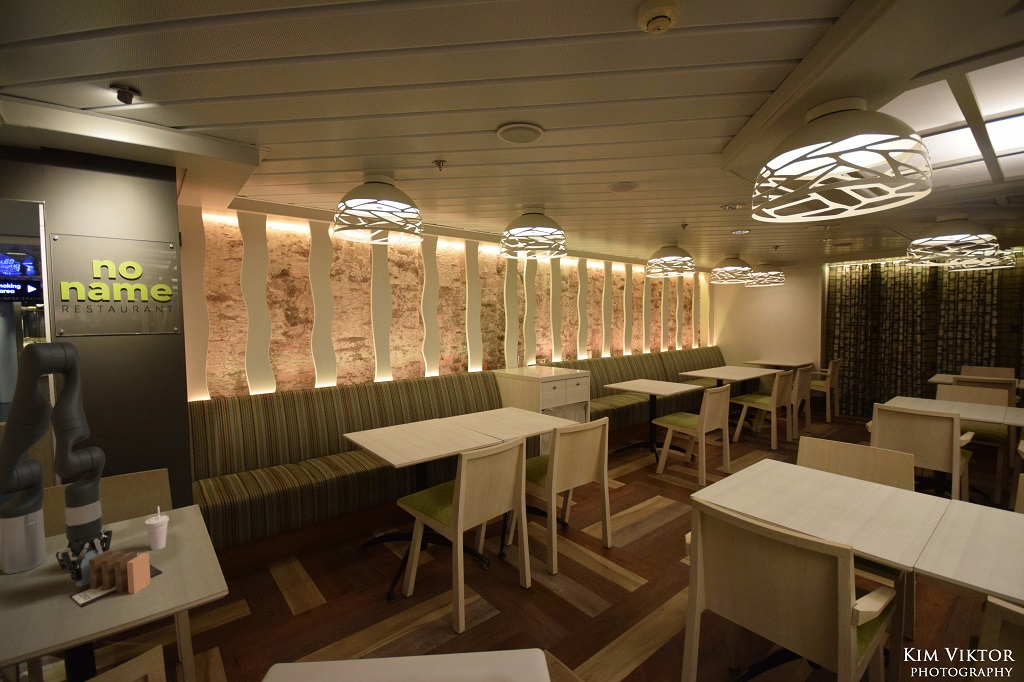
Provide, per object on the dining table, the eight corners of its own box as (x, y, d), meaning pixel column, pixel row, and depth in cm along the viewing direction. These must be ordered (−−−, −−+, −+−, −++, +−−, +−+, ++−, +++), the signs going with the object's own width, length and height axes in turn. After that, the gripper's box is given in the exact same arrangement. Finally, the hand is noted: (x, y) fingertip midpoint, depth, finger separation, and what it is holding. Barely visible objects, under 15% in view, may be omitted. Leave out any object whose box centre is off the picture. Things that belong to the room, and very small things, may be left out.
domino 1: (76, 586, 127) (74, 555, 126) (94, 576, 132) (92, 546, 131) (81, 586, 127) (79, 556, 126) (99, 576, 132) (97, 546, 131)
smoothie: (173, 545, 151) (171, 505, 150) (150, 554, 145) (148, 512, 145) (165, 540, 154) (163, 501, 153) (142, 548, 149) (140, 508, 148)
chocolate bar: (162, 571, 135) (82, 605, 119) (162, 574, 135) (82, 608, 119) (148, 563, 139) (70, 594, 124) (148, 566, 139) (70, 598, 124)
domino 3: (103, 591, 126) (101, 560, 126) (120, 580, 131) (118, 551, 131) (109, 591, 126) (107, 561, 125) (126, 581, 131) (124, 551, 130)
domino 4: (116, 592, 126) (114, 561, 125) (132, 581, 131) (131, 552, 130) (121, 592, 126) (120, 561, 125) (138, 581, 131) (136, 552, 130)
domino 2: (90, 590, 126) (88, 560, 126) (108, 580, 131) (106, 550, 131) (96, 591, 126) (94, 560, 126) (113, 580, 131) (111, 551, 131)
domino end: (128, 593, 125) (126, 562, 125) (144, 582, 130) (143, 552, 130) (134, 593, 125) (132, 562, 124) (150, 583, 130) (148, 553, 129)
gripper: (97, 506, 135) (100, 560, 136) (43, 529, 121) (47, 589, 122) (119, 507, 135) (123, 562, 136) (68, 530, 120) (72, 591, 122)
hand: (87, 574), depth 129 cm, fingers closed on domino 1, 5 cm apart
